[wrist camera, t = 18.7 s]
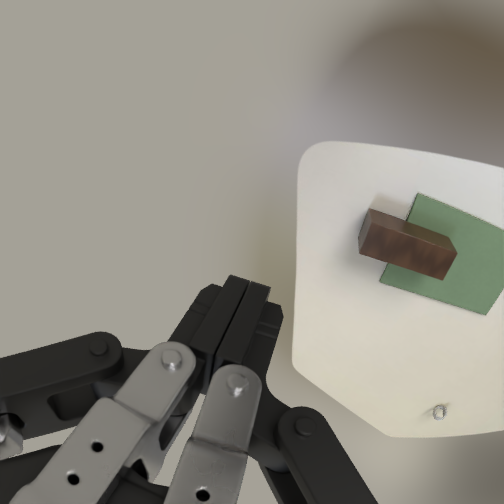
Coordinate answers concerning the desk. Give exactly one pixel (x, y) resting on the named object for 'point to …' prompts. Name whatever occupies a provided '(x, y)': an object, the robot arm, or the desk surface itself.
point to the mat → (464, 265)
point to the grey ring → (443, 412)
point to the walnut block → (406, 245)
